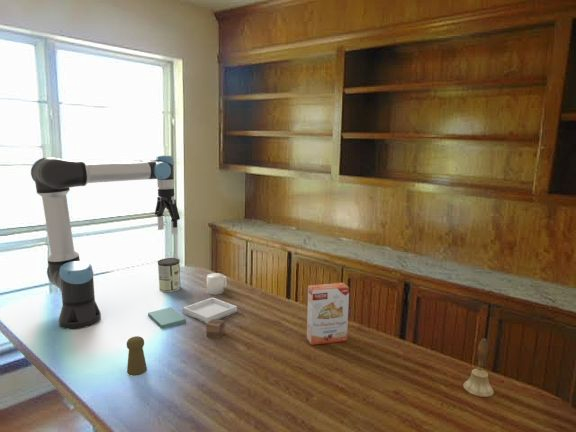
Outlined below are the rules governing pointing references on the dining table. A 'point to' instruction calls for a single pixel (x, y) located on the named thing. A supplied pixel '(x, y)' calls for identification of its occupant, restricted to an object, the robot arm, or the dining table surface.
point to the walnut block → (215, 328)
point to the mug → (216, 283)
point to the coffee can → (169, 274)
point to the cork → (136, 356)
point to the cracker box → (327, 313)
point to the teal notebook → (166, 317)
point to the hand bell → (479, 375)
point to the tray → (209, 310)
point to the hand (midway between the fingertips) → (167, 231)
